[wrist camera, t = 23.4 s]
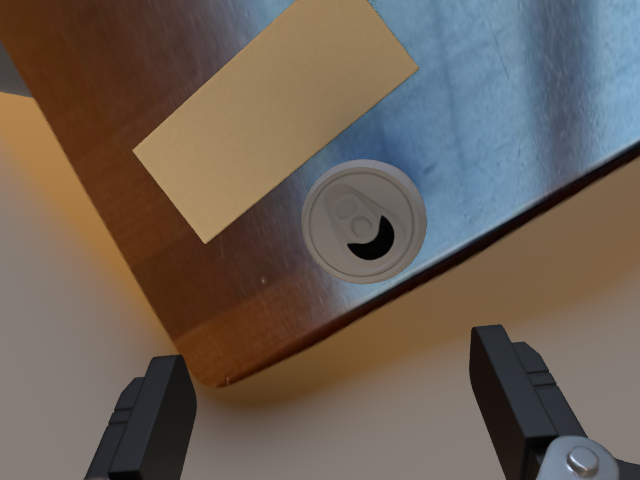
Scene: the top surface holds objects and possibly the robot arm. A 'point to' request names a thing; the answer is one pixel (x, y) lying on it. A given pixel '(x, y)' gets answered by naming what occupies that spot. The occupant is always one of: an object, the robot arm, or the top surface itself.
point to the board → (273, 109)
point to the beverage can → (364, 221)
